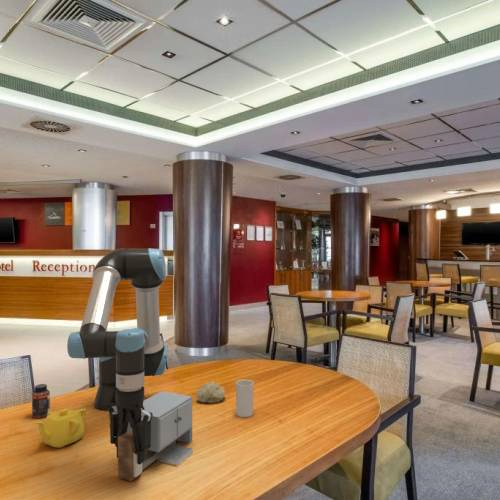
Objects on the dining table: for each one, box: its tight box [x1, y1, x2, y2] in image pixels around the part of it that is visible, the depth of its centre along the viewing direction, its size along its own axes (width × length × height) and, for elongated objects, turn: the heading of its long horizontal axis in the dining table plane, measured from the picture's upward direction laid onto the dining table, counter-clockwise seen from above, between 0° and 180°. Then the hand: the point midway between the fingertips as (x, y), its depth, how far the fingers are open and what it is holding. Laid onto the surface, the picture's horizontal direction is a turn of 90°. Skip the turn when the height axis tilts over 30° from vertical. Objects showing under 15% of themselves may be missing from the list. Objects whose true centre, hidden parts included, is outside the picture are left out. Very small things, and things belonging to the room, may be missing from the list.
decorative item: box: [196, 381, 226, 404], centre depth 171 cm, size 12×9×10 cm
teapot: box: [34, 408, 87, 449], centre depth 135 cm, size 14×13×10 cm
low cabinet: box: [127, 390, 193, 452], centre depth 129 cm, size 13×18×14 cm
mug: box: [235, 379, 255, 418], centre depth 159 cm, size 10×7×12 cm, turn 23°
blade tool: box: [117, 430, 177, 482], centre depth 122 cm, size 4×22×11 cm, turn 156°
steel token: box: [157, 444, 193, 466], centre depth 125 cm, size 7×8×2 cm
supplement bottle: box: [31, 383, 51, 419], centre depth 155 cm, size 6×6×11 cm
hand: (130, 472), depth 114 cm, fingers closed on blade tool, 4 cm apart
